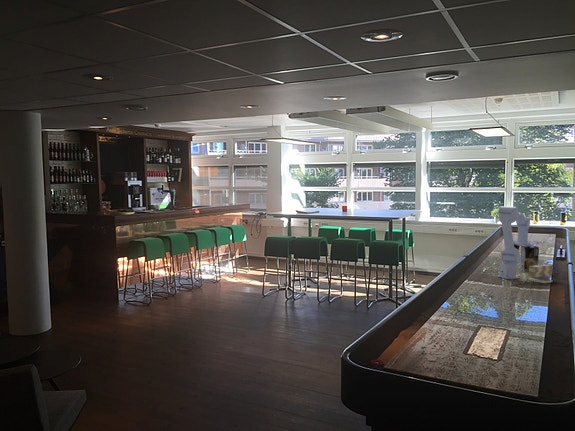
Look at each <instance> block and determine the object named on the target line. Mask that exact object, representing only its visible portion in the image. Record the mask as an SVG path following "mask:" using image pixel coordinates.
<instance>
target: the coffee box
mask: <svg viewBox="0 0 575 431" xmlns="http://www.w3.org/2000/svg"><path fill="white" fill-rule="evenodd" d="M539 250H540V248H539V246H536V245H534V248H533V250H532V251H531V253H530V256H529V258H528V259H526V258H525V254H526V253H525V246H520V257H521V258H520V262H519V267H520V269H522V270H524V271H523V272H529V266H535V265H539V256H540V253H539V252H540V251H539ZM522 270H521V271H522Z"/></svg>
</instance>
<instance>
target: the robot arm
mask: <svg viewBox="0 0 575 431" xmlns="http://www.w3.org/2000/svg"><path fill="white" fill-rule="evenodd" d="M497 216H498V221H499V222H500V223H501V228H502V235H503V242H504V248H502V249H501V250H500V260H501V261H502V263H500V264H499V266H498V275H497V278H498V277H499V278H502V279H505V280H510V279H511V280H513V279H516V280H517V279H520V277H518V276H517V268H518V266H517V264H520V261H521V253H520V251H519V250H520V248H521V246H525V253H526V254H525V258H526V259H528V258H529V256H530V253H531V251H532V250H533V248H534V246H535V244H534V243H533V244H532V243H528V239H529V229H530V225H531V218H529V217H526V216H525V215H524V214H523V213H522V211H521V212H519V208H518V206H502V205H501V206H499V208H498V210H497ZM513 223H516V226H517V241H514V237H513V236H514V234H513V228H512V224H513Z"/></svg>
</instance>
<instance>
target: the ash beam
mask: <svg viewBox="0 0 575 431" xmlns="http://www.w3.org/2000/svg"><path fill="white" fill-rule="evenodd" d="M542 276H546V277H550V276H553V265H552V264H549V263H548V264H547V263H544V264H538V265H535V266H529V271H528V277H529V278H531V277H542Z"/></svg>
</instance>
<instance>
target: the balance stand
mask: <svg viewBox="0 0 575 431" xmlns="http://www.w3.org/2000/svg"><path fill="white" fill-rule="evenodd" d="M527 280H528V281H532V282H537V283H542V284H547V283H553V280H552V279H551V277H550V276H542V277H528V278H527Z"/></svg>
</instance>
